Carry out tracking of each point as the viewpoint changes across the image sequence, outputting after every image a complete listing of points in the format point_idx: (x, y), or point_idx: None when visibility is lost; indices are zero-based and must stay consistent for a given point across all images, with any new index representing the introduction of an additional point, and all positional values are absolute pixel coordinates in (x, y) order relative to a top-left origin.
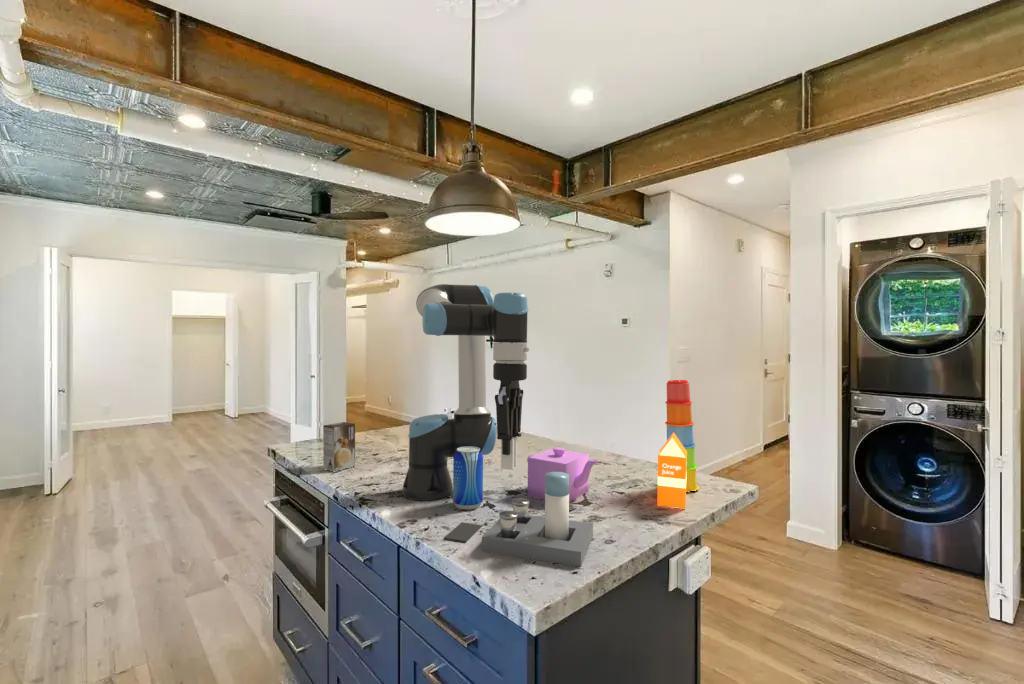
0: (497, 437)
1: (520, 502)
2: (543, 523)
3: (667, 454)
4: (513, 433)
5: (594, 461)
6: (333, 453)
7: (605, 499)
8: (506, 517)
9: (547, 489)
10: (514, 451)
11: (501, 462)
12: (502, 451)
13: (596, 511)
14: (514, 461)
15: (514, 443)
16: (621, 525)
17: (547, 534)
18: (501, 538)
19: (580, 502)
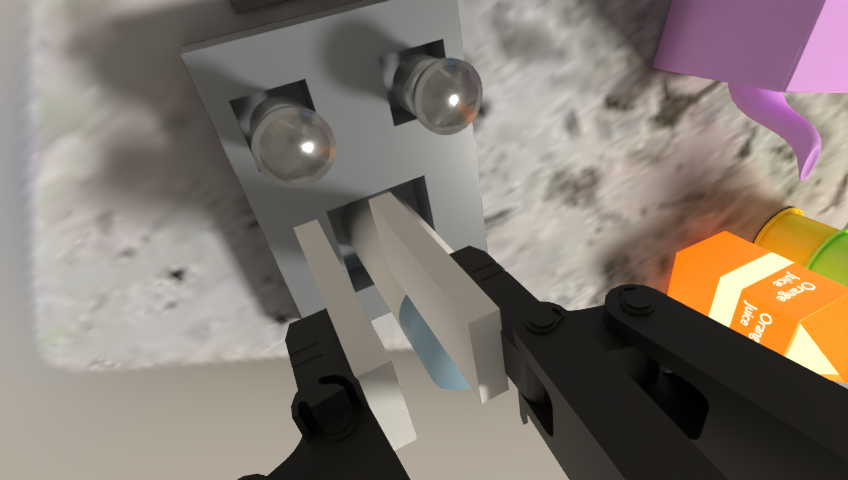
0: (296, 412)
1: (434, 108)
2: (427, 167)
3: (799, 338)
4: (525, 392)
5: (803, 166)
6: None
7: (700, 142)
8: (257, 165)
9: (412, 310)
10: (425, 315)
11: (304, 251)
12: (288, 346)
13: (623, 166)
14: (397, 275)
15: (455, 357)
16: (561, 253)
17: (356, 229)
18: (230, 130)
19: (673, 97)
